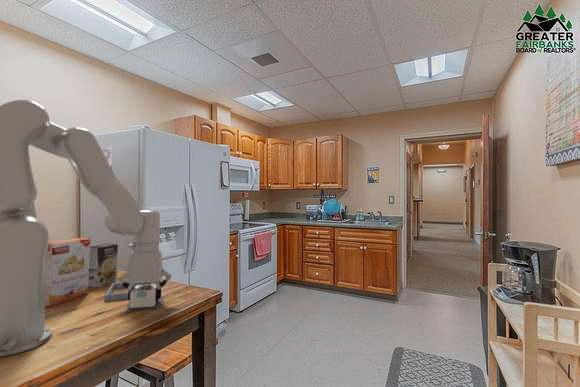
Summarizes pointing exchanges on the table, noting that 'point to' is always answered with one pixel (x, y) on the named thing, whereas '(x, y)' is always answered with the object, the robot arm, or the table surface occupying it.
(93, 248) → the coffee box
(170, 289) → the table surface
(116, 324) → the table surface
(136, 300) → the collar
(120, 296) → the tray
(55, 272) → the cracker box
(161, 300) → the board
